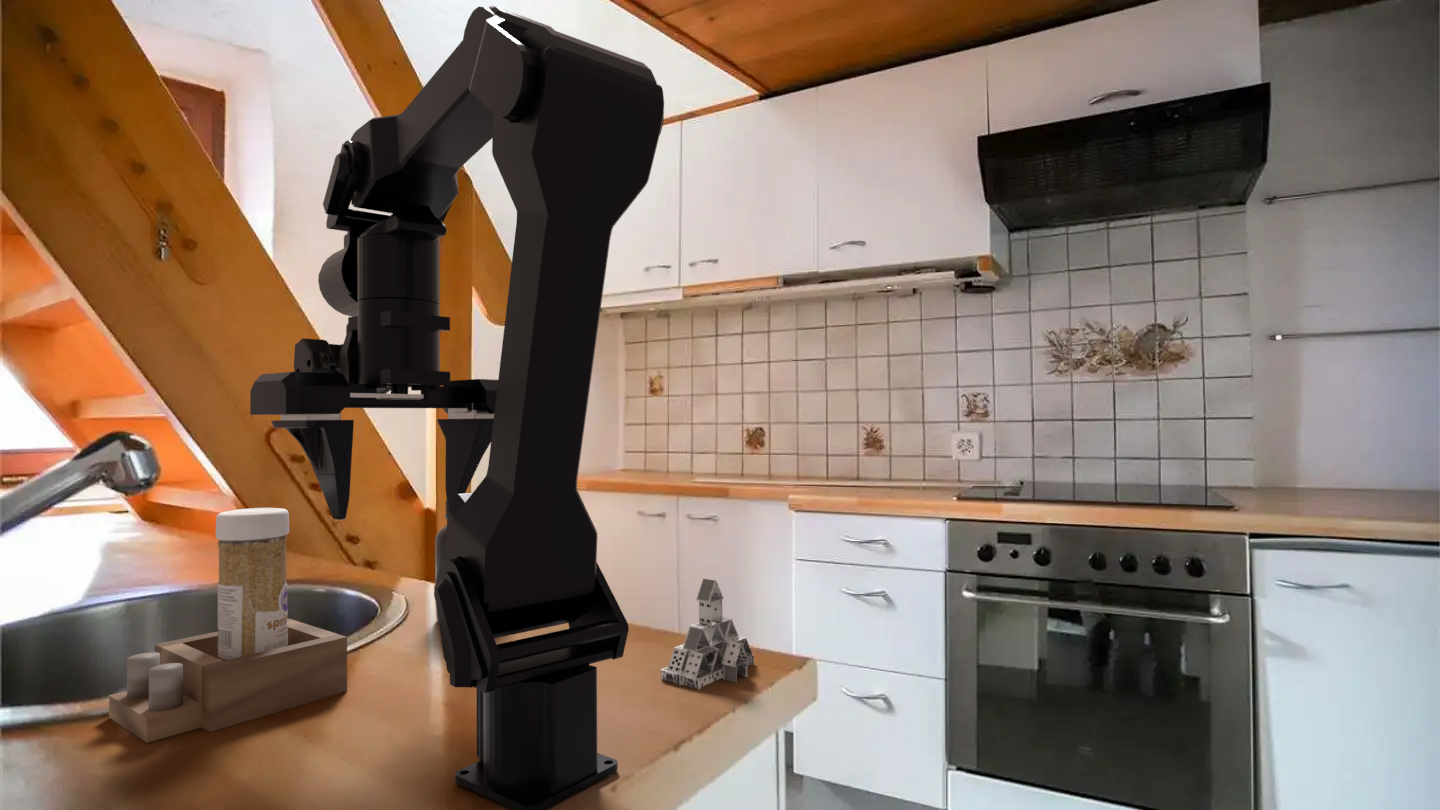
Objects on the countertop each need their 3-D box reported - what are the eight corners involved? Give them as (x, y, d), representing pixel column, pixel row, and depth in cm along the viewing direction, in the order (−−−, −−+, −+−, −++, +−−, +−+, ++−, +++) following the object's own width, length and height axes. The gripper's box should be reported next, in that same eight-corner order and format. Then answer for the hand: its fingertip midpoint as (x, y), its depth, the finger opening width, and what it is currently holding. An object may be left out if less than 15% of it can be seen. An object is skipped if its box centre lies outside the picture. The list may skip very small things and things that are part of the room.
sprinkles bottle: (292, 699, 56) (292, 510, 56) (216, 713, 54) (216, 515, 54) (286, 681, 60) (285, 504, 60) (214, 693, 57) (215, 509, 57)
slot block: (347, 691, 57) (347, 636, 58) (154, 748, 48) (154, 682, 48) (286, 667, 63) (286, 617, 63) (102, 713, 54) (103, 654, 54)
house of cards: (736, 720, 52) (736, 605, 52) (642, 692, 58) (642, 587, 58) (808, 683, 59) (807, 582, 60) (718, 662, 65) (718, 568, 65)
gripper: (444, 323, 71) (445, 496, 71) (215, 300, 56) (215, 518, 56) (525, 313, 65) (526, 503, 64) (290, 283, 50) (290, 531, 49)
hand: (399, 512), depth 59 cm, fingers open, 9 cm apart
